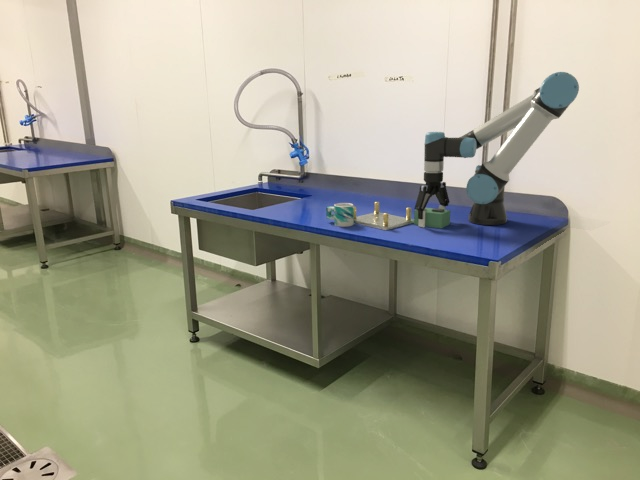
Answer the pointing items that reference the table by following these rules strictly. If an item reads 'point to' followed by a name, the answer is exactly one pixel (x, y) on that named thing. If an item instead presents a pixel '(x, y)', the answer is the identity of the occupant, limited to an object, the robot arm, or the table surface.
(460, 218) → the table surface
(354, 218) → the chassis
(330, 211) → the mug
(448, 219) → the green control box
